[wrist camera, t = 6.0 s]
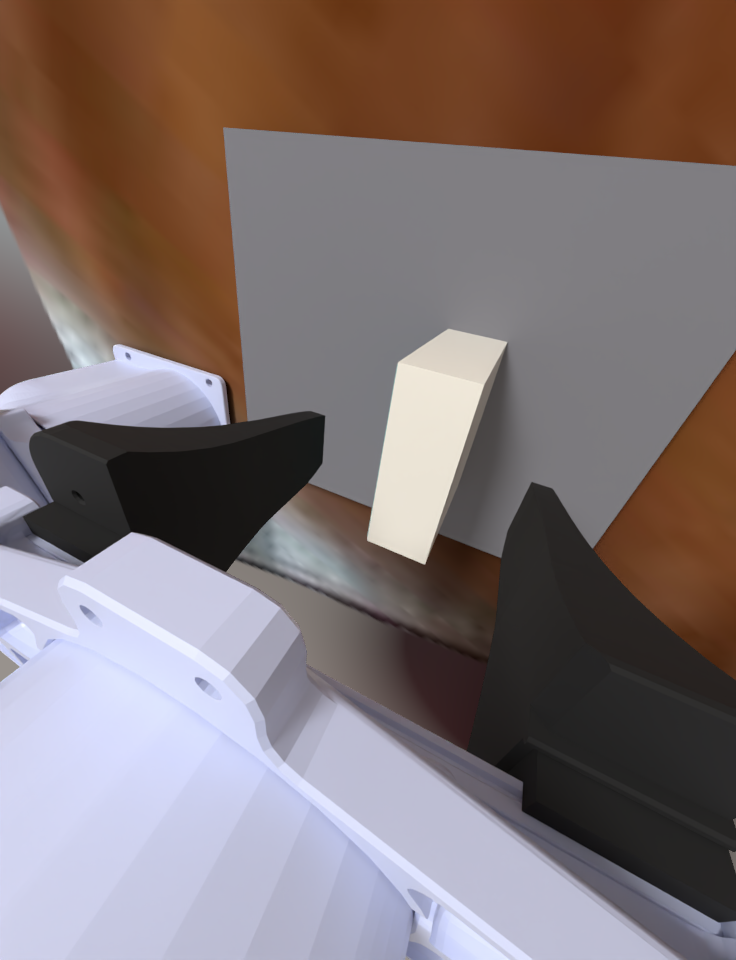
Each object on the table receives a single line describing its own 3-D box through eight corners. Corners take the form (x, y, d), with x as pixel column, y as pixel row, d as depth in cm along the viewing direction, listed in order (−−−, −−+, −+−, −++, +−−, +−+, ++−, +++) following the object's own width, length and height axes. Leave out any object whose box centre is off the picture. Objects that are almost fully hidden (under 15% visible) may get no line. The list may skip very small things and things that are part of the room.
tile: (412, 469, 18) (365, 539, 14) (447, 328, 14) (396, 361, 10) (458, 484, 18) (424, 564, 13) (507, 342, 14) (484, 384, 9)
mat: (258, 455, 24) (251, 460, 23) (237, 132, 15) (223, 127, 14) (566, 573, 18) (567, 583, 18) (840, 181, 9) (861, 175, 9)
